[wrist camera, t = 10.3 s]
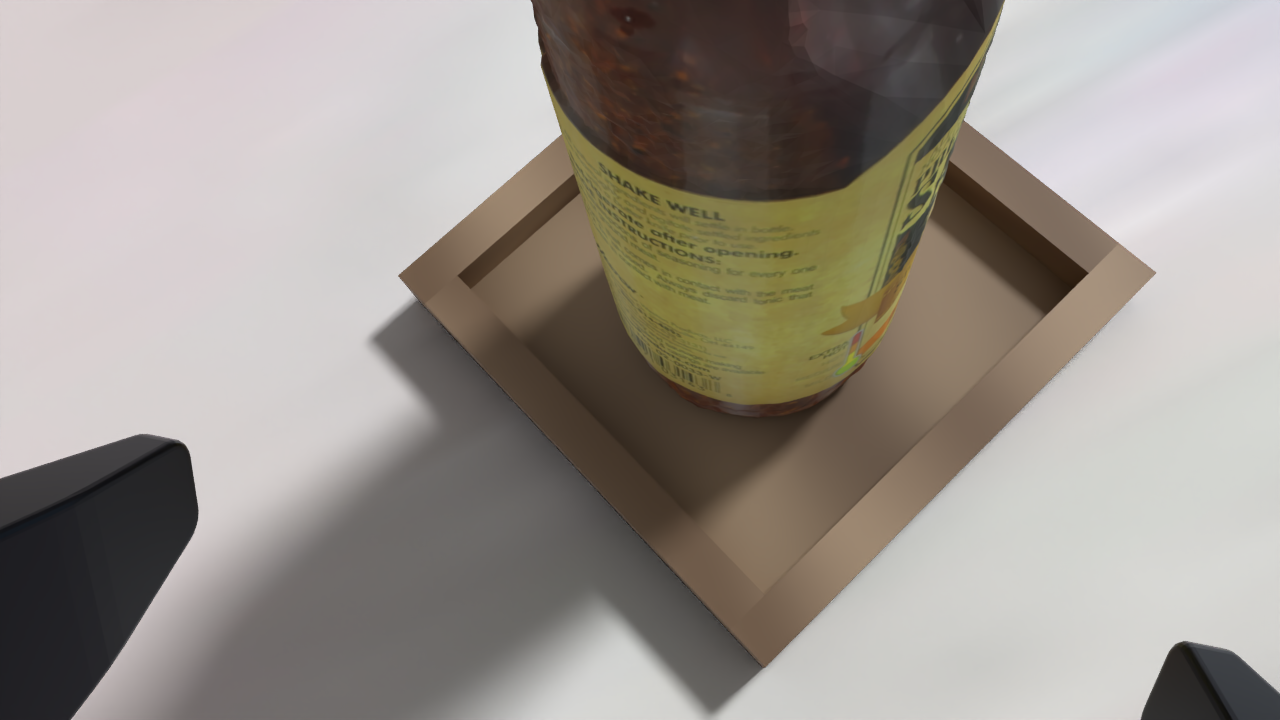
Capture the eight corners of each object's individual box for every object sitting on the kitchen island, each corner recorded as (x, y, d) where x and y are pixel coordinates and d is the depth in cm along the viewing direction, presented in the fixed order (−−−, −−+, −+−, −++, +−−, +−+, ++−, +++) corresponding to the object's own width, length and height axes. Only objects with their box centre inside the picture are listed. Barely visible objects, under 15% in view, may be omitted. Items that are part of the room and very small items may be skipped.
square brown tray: (763, 668, 22) (765, 667, 20) (417, 298, 25) (397, 275, 24) (1130, 297, 23) (1156, 272, 22) (760, -1, 27) (762, -40, 25)
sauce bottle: (912, 408, 22) (1826, -1013, 4) (636, 446, 23) (154, -685, 4) (858, 151, 25) (1262, -1609, 6) (605, 189, 25) (192, -1361, 6)
